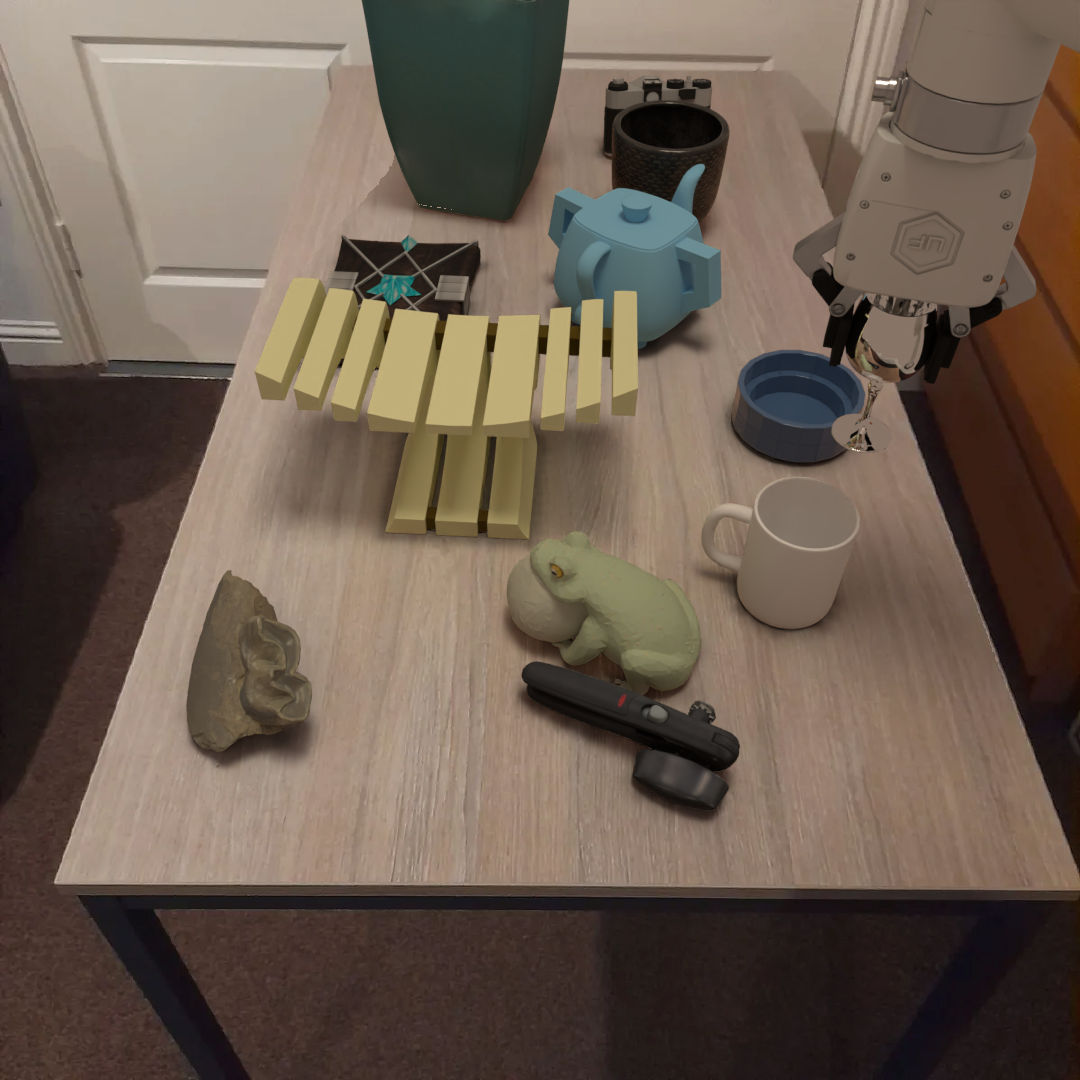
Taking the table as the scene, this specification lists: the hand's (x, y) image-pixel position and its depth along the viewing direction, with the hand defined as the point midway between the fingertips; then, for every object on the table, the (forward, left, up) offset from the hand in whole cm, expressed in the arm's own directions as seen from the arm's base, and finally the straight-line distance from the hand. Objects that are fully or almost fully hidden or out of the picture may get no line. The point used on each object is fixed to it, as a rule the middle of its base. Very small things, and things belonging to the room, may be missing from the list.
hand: (882, 361), depth 70 cm
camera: (+32, -76, -24) cm, 86 cm away
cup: (+4, +2, -24) cm, 24 cm away
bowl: (+5, -20, -24) cm, 31 cm away
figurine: (+16, +12, -24) cm, 31 cm away
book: (+50, -26, -24) cm, 61 cm away
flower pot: (+51, -55, -24) cm, 78 cm away
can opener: (+12, +21, -24) cm, 34 cm away
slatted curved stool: (+33, -3, -24) cm, 41 cm away
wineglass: (0, 0, -7) cm, 7 cm away
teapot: (+25, -35, -24) cm, 49 cm away
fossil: (+38, +23, -20) cm, 49 cm away
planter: (+26, -55, -24) cm, 65 cm away
